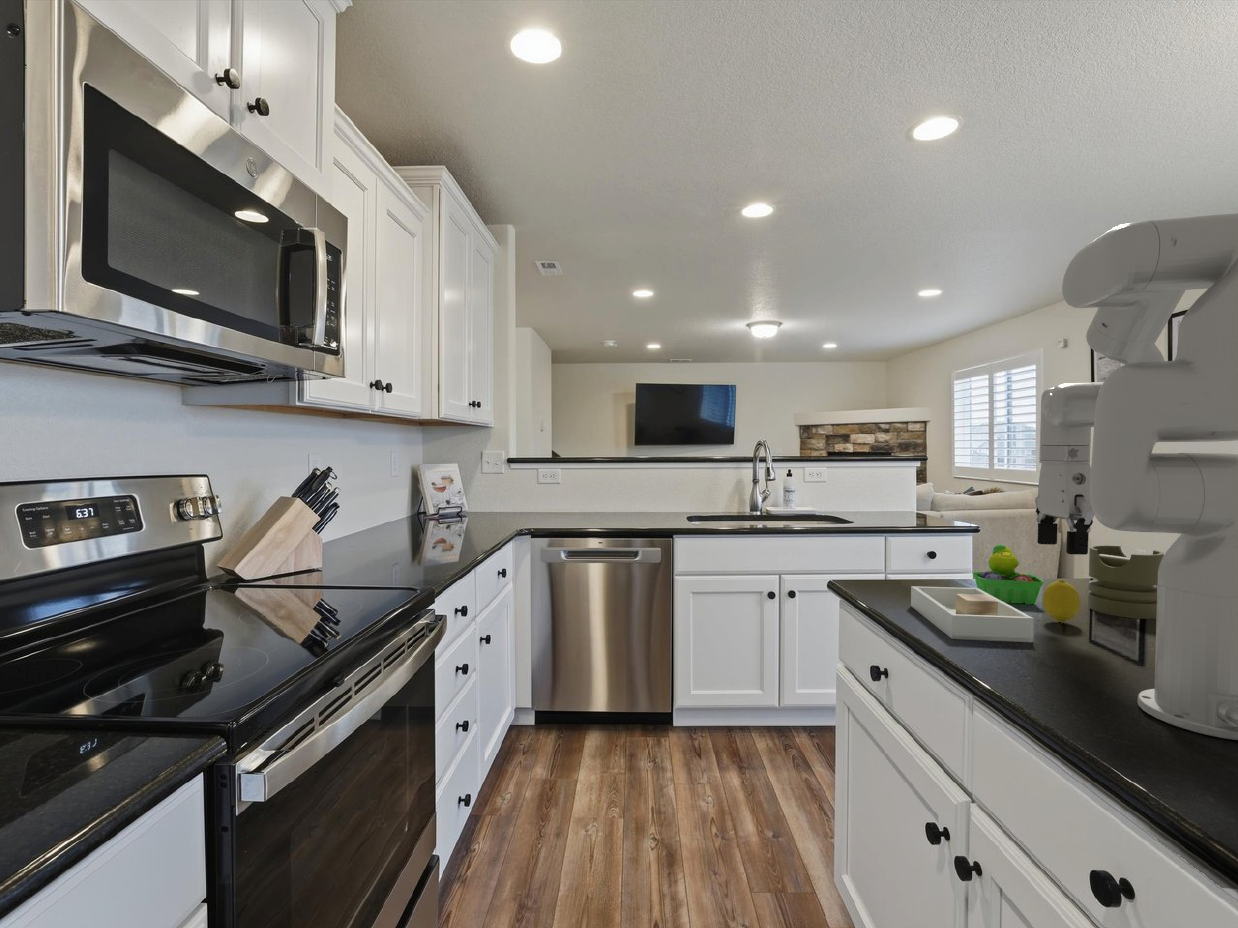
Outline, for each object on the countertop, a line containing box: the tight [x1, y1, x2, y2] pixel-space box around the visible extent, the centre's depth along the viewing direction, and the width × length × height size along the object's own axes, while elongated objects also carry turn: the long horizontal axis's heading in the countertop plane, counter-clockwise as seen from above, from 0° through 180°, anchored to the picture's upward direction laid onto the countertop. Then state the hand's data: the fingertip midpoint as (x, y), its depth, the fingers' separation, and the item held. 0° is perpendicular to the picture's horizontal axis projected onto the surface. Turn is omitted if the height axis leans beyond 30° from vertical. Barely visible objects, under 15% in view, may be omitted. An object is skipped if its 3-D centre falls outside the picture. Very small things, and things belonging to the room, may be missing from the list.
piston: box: [1087, 544, 1165, 620], centre depth 123 cm, size 11×12×11 cm
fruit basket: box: [972, 544, 1044, 605], centre depth 132 cm, size 11×9×11 cm
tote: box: [910, 585, 1035, 643], centre depth 115 cm, size 22×13×4 cm, turn 172°
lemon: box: [1042, 579, 1081, 624], centre depth 114 cm, size 6×6×8 cm
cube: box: [956, 594, 998, 616], centre depth 111 cm, size 5×5×5 cm
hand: (1061, 548), depth 115 cm, fingers open, 9 cm apart
